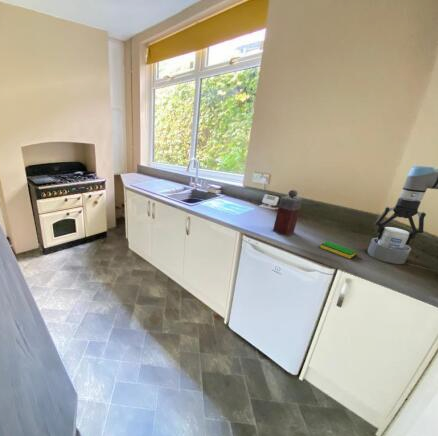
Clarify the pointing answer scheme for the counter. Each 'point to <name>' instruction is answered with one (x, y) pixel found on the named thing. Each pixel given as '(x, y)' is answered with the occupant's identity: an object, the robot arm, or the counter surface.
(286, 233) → the glass decanter
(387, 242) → the supplement tub
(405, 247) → the gray round bowl
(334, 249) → the dish sponge
